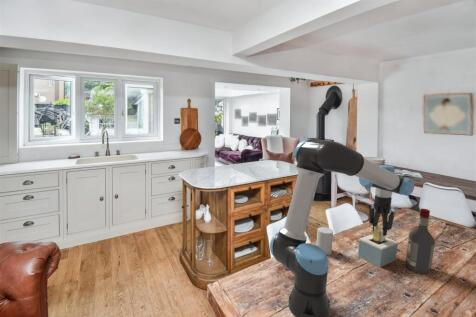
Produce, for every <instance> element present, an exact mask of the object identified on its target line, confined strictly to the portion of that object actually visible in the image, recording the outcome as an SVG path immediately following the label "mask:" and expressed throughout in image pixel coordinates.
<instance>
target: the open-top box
mask: <svg viewBox="0 0 476 317" xmlns="http://www.w3.org/2000/svg"><path fill="white" fill-rule="evenodd" d="M398 243H399V242H398V241H396V240H393V239H391V238H389V237H387V236H385V240H384V241H382V242H379V243H378V242H376V241H373V233H372V234H369V235H366V236H362V237H361V238H359V243H358V254H357V256H358V258H361V259H363V260H364V261H366V262H369V263H370V264H372V265H374V266H376V267H378V268H382V267H384V266H386V265H389V264H391V263H393V262H394V261H396V260H397V253H398V246H399V244H398Z"/></svg>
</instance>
